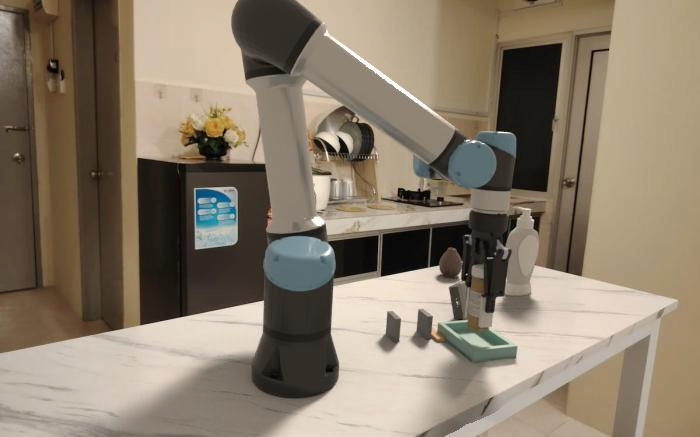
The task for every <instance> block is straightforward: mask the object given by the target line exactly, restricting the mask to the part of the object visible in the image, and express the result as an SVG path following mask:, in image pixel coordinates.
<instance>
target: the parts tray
mask: <svg viewBox="0 0 700 437" xmlns="http://www.w3.org/2000/svg"><path fill="white" fill-rule="evenodd" d="M467 323H468V320H463V319H460V320H451V321H439V322H437V330H436V331H438V332H439V333H440V334H441V335H442V336H444V337H445V338H446V341H445V342H447V343H448V344H449V345H450V346H452V347H453V348H454V349H456V350H457V351H458V352H459V353H461V355H463V356H464V357H465V358H466V359H468V361H469V362H471V363H472V364H475V363H483V362H490V361H493V362H494V361H500V360H508V359H516V358H517V354H518V345H517V344H515V343H514V342H512V341H511V340H509V339H508V338H506V337H505V336H503V335H502V334H500V333H499V332H498V331H496V330H495V329H493V328H491V327H489V330H488V331H487V332H483V333H480V332H474V331H471V330H469V329H468V328H467Z"/></svg>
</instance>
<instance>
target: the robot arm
mask: <svg viewBox="0 0 700 437" xmlns="http://www.w3.org/2000/svg"><path fill="white" fill-rule="evenodd" d="M230 20H231V21H230V23H231V24H230V26H231V33H232V35H233V38H234V41H235V43H236V44H237V46H238V47H239V49H240V51H241V59H242V66H243V73H244V79H245V80H244V81H245V84H246V85H247V86H248V87H250V88H251V89H252V90H253V91H254V92H255V99H256V106H257V107H256V108H257V112H258V113H257V114H258V121H259V126H260V135H261V136H260V137H261V142H262V150H263V158H264V165H265V173H266V180H267V187H268V195H269V202H270V209H271V216H272V219H271V221H270V222H269V224H268V225H267V227H265V231H266V240H267V247H266V250H265V254H264V259H263V266H262V267H263V270H264V271H263V272H264V278H263V279H264V281H263V284H264V285H263V314H262V316H263V318H262V333H261V337H260V340H259V342H258V345H257V348H256V349H255V353H254V356H253V359H252V362H251V375H250V377H251V380H252V382H253V384H254V385H255V386H256V387H257V388H258V389H259V390H261V391H263V392H265V393H267V394H270V395H274V396H278V397H283V398H284V397H285V398H304V397H311V396H316V395H319V394H322V393H325V392H326V391H328V390H330V389H331V388H333V387H334V386H335V385H336V384H337V382H338V380H339V377H340V362H339V361H340V360H339V358H338V354H337V351H336V348H335V347H336V346H335V344H334V340H333V336H332V320H333V319H332V317H333V302H334V300H333V299H334V298H333V297H334V281H335V280H334V279H335V271H336V269H337V268H336V266H337V265H336V258H335V257H336V256H335V251H334V249H333V247H332V246H331V245H330V244H329V241H328V240H329V239H328V231H327V223H326V219H324V218H322V217H321V216H320V215H319V214H318V211H317V204H316V203H317V202H316V194H315V186H314V177H313V169H312V160H311V152H310V144H309V136H308V135H309V134H308V127H307V126H308V125H307V118H306V109H305V102H304V92H303V91H304V90H303V87H304V86H305V83H306V82H307V81H308V82H310V83H311V84H312V85H314V86H315V87H317V88H318V89H319V90H321V91H323V92H324V93H325V94H326V95H328V96H329V97H331V98H333V99H334V100H335V101H337V102H338V103H340V104H341V105H343V106H344V107H345V108H347V109H348V110H350V111H351V112H353V114H355V115H357V116H358V117H360V119H361V120H364V122H367V123H368V124H369V125H371V126H372V127H373V128H375V129H377V130H378V131H380V133H382V134H384V135H385V136H387V137H388V138H390V140H392V141H393V142H395V143H397V144H398V145H399V146H401V147H403V148H404V149H405V150H407V151H408V152H409V153H411V154H412V168H413V173H414V175H415V176H416V177H417V178H425V179H428V180H431V179H440V180H443V181H446V182H449V183H452V184H454V185H457V186H458V187H459V188H463V189H471V191H470V192H471V194H470V202H469V207H470V208H471V210H470V211H469V216H468V223H467V224H468V228H469V229H470V230H471V233H470V234H465V235H464V234H463V236H462V242H463V243H462V244H463V248H462V258H461V260H462V269H461V272H460V279H461V281H465V285H466V286H467V291H466V307H465V318H468V309H469V299H470V289H471V283H472V274H471V273H472V266H473V265H478V264H483V266H484V294H481V303H480V313H479V323H478V327H480V328H483V327H490V328H491V327H492V326H493V320H494V313H495V310H496V300H497V298H501V297H504V296H505V295H504V293H505V285H506V281H507V270H508V262H509V258H510V256H511V254H512V250H511V249H506V248H505V246H504V243H503V242H504V240H503V234H504V233H505V232H507V231H508V225H509V214H508V213H507V212H508V211H509V210H510V206H511V195H512V194H511V193H512V185H513V178H514V168H515V164H516V158H517V137H516V135H515V134H514V133H512V132H507V131H505V132H504V131H489V130H488V131H487V130H486V131H485V130H484V131H483V130H482V131H479V132H478V133H477V134H476V138H475V139H472V138H471V137H469V136H468V135H466V134H465V133H464V132H462V131H461V130H459V129H458V128H457V127H455V125H452V123H450V122H448V121H447V120H446V119H445V118H444V117H442V116H441V115H439V114H438V113H436V112H435V111H434V110H433V109H431V108H430V107H429V106H428V105H426V104H424V103H423V102H421V101H420V100H419V99H417V98H416V97H415V96H413V95H412V94H411V93H409V92H408V91H407V90H405V89H404V88H403V87H401V86H400V85H398V84H397V83H396V82H395V81H393V80H392V79H390V78H389V77H388V76H386V75H385V74H383V73H382V72H381V71H379V70H378V69H377V68H375V67H374V66H373V65H372V64H370V63H369V62H367V61H366V60H364V58H363V57H360V56H359V55H358V54H357V53H355V52H354V51H352V50H351V49H349V48H348V47H347V46H346V45H345V44H343V43H341V42H340V41H339V40H337V39H336V38H335V37H333V36H332V35H331V34H329V33H328V30H327V29H328V28H327V23H326V22H325V21H323V20H322V19H321V18H320V17H318V16H316V14H314V13H313V12H311V11H310V10H309V9H308V8H306V6H304V5H302V3H300V2H299V1H298V0H237V1H236V2H235V4H234V6H233V9H232V13H231V19H230Z"/></svg>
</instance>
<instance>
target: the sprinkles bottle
mask: <svg viewBox="0 0 700 437" xmlns="http://www.w3.org/2000/svg"><path fill="white" fill-rule="evenodd" d="M471 274H472V283H471V289H470V299H469V309H468V323H467V328H468V329H469V330H471V331H474V332H480V333H483V332H487V331H488V330H489V327H483V328H480V327H478V323H479V313H480V303H481V294H484V266H483V264H478V265H473V266H472V273H471Z"/></svg>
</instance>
